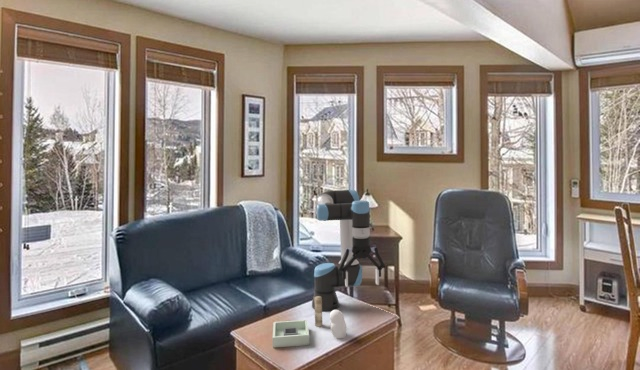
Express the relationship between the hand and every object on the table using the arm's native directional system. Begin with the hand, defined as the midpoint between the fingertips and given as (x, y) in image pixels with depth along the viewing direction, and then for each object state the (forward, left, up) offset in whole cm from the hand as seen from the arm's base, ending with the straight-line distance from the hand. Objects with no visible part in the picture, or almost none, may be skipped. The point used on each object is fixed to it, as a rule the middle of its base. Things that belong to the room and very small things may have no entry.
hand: (362, 285), depth 158 cm
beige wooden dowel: (-22, -18, -27) cm, 39 cm away
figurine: (-10, -10, -27) cm, 30 cm away
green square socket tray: (-11, -32, -27) cm, 43 cm away
